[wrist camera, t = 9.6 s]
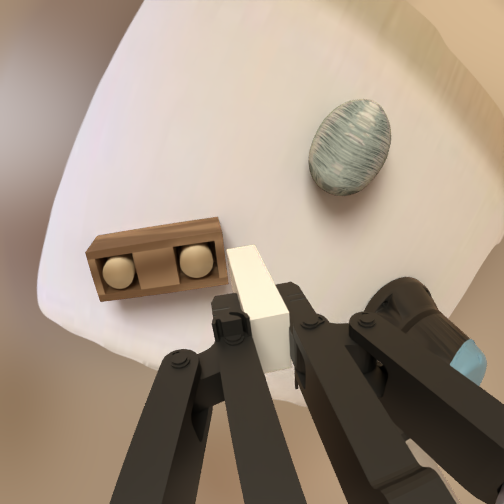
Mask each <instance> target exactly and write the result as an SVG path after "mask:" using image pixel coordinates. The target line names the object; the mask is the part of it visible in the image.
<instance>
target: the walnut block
mask: <svg viewBox="0 0 504 504" xmlns="http://www.w3.org/2000/svg"><path fill="white" fill-rule="evenodd" d="M202 242H210V246H211V252H212V258H213V267H212V269H211V271H210V272H209V273H208V274H207V275H205V276H203V277H200V278H193V277H190V276H188V275H186V274H185V273H184V272H183V271H182V269H181V266H180V254H181V245H188V244H195V243H202ZM85 253H86V257H87V260H88V264H89V267H90V271H91V274H92V277H93V281H94V284H95V287H96V290H97V293H98V296H99V299H100V302H104V301H112V300H119V299H127V298H135V297H142V296H149V295H157V294H164V293H171V292H178V291H185V290H192V289H199V288H205V287H212V286H219V285H225V284H228V276H227V268H226V260H225V252H224V244H223V236H222V230H221V226H220V223H219V220H218V217H213V218H206V219H199V220H192V221H186V222H179V223H172V224H166V225H159V226H153V227H147V228H140V229H134V230H128V231H122V232H116V233H110V234H105V235H99V236H97V237H96V238H95V240H94V241H93V243H92V244H91V245H90V247H89V248H88V249H87V251H86V252H85ZM129 253H132V254H133V259H134V263H135V267H136V271H135V274H134V277H133V280H132V282H131V284H130V285H129V286H128V287H126V288H122V289H117V288H114V287H111V286H110V285H109V284H107V282H106V281H105V279H104V277H103V268H104V266H105V264H106V262H107V260H108V258H109V257H110V256H116V255H122V254H129Z"/></svg>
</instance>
